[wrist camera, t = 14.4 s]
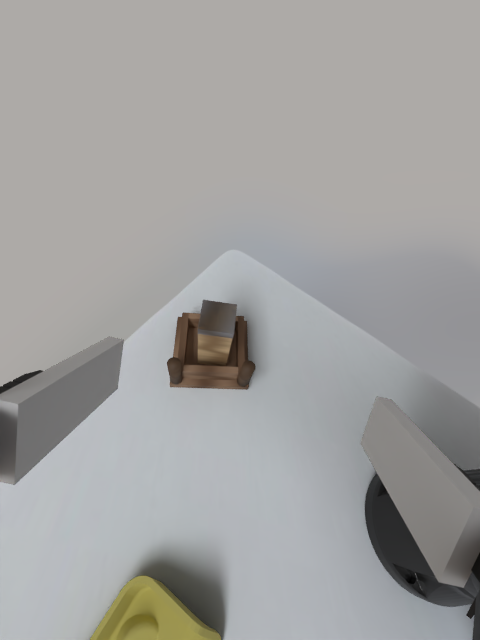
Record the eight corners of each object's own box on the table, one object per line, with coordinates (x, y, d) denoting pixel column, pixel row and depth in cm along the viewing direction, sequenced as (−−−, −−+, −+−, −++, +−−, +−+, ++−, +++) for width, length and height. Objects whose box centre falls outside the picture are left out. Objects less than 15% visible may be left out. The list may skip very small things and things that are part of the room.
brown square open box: (245, 324, 52) (252, 301, 46) (247, 389, 46) (255, 372, 40) (178, 320, 50) (176, 296, 44) (170, 386, 44) (166, 369, 38)
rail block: (228, 341, 48) (236, 304, 39) (226, 367, 46) (233, 334, 36) (201, 338, 48) (203, 299, 39) (197, 363, 45) (197, 329, 36)
